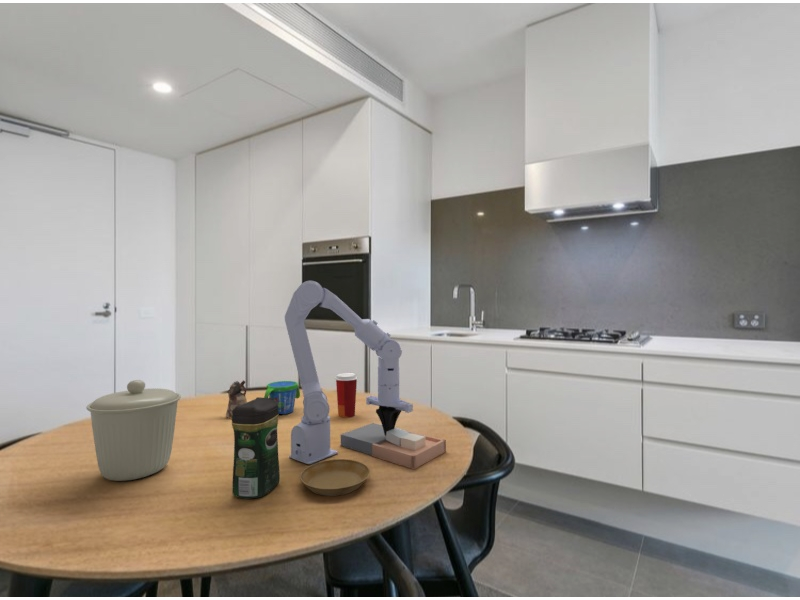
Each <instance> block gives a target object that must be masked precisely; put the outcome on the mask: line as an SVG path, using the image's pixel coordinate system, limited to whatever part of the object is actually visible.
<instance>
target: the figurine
mask: <svg viewBox="0 0 800 600" xmlns="http://www.w3.org/2000/svg"><path fill="white" fill-rule="evenodd" d="M245 384H246V380H242V381H241V382H239V380H235V381H234V382H232V383H231V384H230V386H229V389H228V391H227V392H226V393H228V404H227V409H226V413H225V417H226V418H227V417H229V418H228V419H230V418H232V410H233V409H234V408H236V407H237V406H239V405H242V404H245V403H247V402H248V401H247V397H246V394H247V388H246V387H245ZM242 390H243V391H244V392H242Z"/></svg>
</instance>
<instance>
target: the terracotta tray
mask: <svg viewBox="0 0 800 600" xmlns="http://www.w3.org/2000/svg"><path fill="white" fill-rule="evenodd" d="M405 431H407V432H409V433H413V434H417V435H421V436H425V442H426V445H425V446H423V447H421V448H419V449H417V450H412V449H408V448H405V447H401V446H397V445H395V444H393V443H391V442H389V441H386V442H384V443H382V444H379V445H378V444H372V455H371V456H372V457H374V458H376V459H380V460H382V461H386V462H389V463H393V464H395V465H399V466H401V467H405V468H409V469H411V470H416V469H417V468H420V467H421V466H422V465H424V464H426V463H428V462H429V461H432V460H434V459H435V458H437V457H439V456H440V455H442V454H444V453H446V452H447V440H446V439H443V438H439V437H435V436H432V435H427V434H423V433H419V432H415V431H410V430H407V429H406V430H405Z"/></svg>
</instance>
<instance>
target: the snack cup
mask: <svg viewBox="0 0 800 600" xmlns="http://www.w3.org/2000/svg"><path fill="white" fill-rule="evenodd" d="M300 397H301V390H300V387H299V384H298V381H292V380H280V381H278V380H277V381H273V382H269V383H267V385H266V390H265V392H264V397H263V398H273V399H274V400H275V401H276V402H277V404H278V412H279V413H278V414H283V415H287V414H290V413H293V412H294V410H295V402H296V399H297V400H298V399H299V398H300Z"/></svg>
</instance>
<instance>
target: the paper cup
mask: <svg viewBox="0 0 800 600" xmlns="http://www.w3.org/2000/svg"><path fill="white" fill-rule="evenodd" d="M358 379H359V378H358V376H357V374H356V373H352V372H343V373H338V374H337V375H335V378H334V380H335V383H336V384H335V385H336V399H337V401H336V402H337V413H338V417H340V418H346V419H347V418H352V417H354V416H355V414H356V404H357V403H356V402H357V399H356V398H357V383H358Z"/></svg>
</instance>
